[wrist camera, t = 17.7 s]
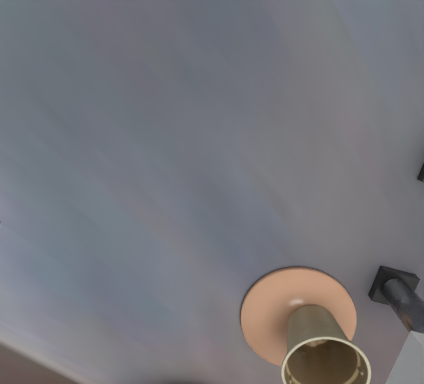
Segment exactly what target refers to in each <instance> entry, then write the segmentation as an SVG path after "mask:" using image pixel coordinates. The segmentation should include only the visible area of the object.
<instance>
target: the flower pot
mask: <svg viewBox="0 0 424 384" xmlns="http://www.w3.org/2000/svg"><path fill="white" fill-rule="evenodd" d="M281 376H282V381H283V384H369V382H370V378H371V368H370V364H369V361H368V359H367V357H366V356H365V354H364V353H363V352H362V350H361V349H360V348H358V347H357V346H356V345H355V344H353V343H352V342H351V341H350V340H349V339H348V338H347V336H346V335H345V333H344V332H343V330H342V328H341V327H340V325H339V324H338V322H337V321H336V319H335V318H334V316H333V315H332V313H331V312H330V311H329V310H327V309H326V308H324V307H321V306H318V305H314V306H302V307H300V308H298V309H297V310H295V311H294V312H293V313H292V314H291V316H290V318H289V320H288V338H287V353H286V355H285V357H284V360H283V362H282V367H281Z"/></svg>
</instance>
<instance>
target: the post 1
mask: <svg viewBox="0 0 424 384" xmlns="http://www.w3.org/2000/svg"><path fill="white" fill-rule="evenodd" d="M419 280H420V279H419V278H418V277H417V276H416V275H415V274H411V273H407V272H403V271H399V270H395V269H392V268H388V267H384V266H381V267H380V269H379V271H378V274H377V276H376V278H375V281H374V283H373V286H372V288H371V290H370V293H369V297H370V299H371V300H372V301H376V302H379V303H383V304H387V305H390V306H391V307H392V309H393V310H394V312H395V313H396V314H397V316H398V317H399V319H400V320H401V321H402V323H403V324H404V326H405V327H406V328H407V330H408V331H409V333H410V331H415V332H419V333H422V334H424V302H423V301H422V300H421V298H420V297H419V296H418V295H417V294H416V293H415V292H414V291H415V289H416V287H417V284H418V282H419Z"/></svg>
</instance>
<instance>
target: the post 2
mask: <svg viewBox="0 0 424 384" xmlns="http://www.w3.org/2000/svg"><path fill="white" fill-rule="evenodd" d="M418 180H420V181H422V182H424V164H423V167H422V169H421V172H420V174H419V176H418Z"/></svg>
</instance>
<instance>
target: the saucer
mask: <svg viewBox="0 0 424 384" xmlns="http://www.w3.org/2000/svg"><path fill="white" fill-rule="evenodd" d="M314 305H318V306H321V307H324V308H326V309H327V310H329V311H330V312H331V313H332V315H333V316H334V318H335V319H336V321H337V322H338V324H339V325H340V327H341V328H342V330H343V332H344V333H345V335H346V336H347V338H348V339H349V340H350V341H351V340H352V338H353V335H354V332H355V329H356V318H357V317H356V310H355V307H354V304H353V302H352V300H351V298H350V296H349V294H348V292H347V291H346V289H345V288H344V287H343V286H342V285H341V283H340V282H338V281H337V280H336V279H335V278H333V277H332V276H330V275H329V274H327V273H325V272H322V271H320V270H317V269H314V268H309V267H299V266H298V267H286V268H282V269H278V270H275V271H273V272H270V273H268V274H267V275H265V276H263V277H262V278H260V279H259V280H258V281H257V282H256V283H255V284H254V285H253V286H252V287H251V288H250V289H249V291H248V292H247V294H246V296H245V298H244V301H243V304H242V308H241V326H242V331H243V334H244V336H245V339H246V340H247V342H248V344H249V345H250V346H251V348H252V349H253V350H254V351H255V352H256V353H257V354H258V355H259V356H261V357H262V358H263V359H265V360H267V361H268V362H271V363H273V364H275V365H278V366H281V367H282V362H283V360H284V357H285V355H286V353H287V338H288V320H289V318H290V316H291V314H292V313H293V312H294V311H295V310H297V309H298V308H300V307H302V306H314Z"/></svg>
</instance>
